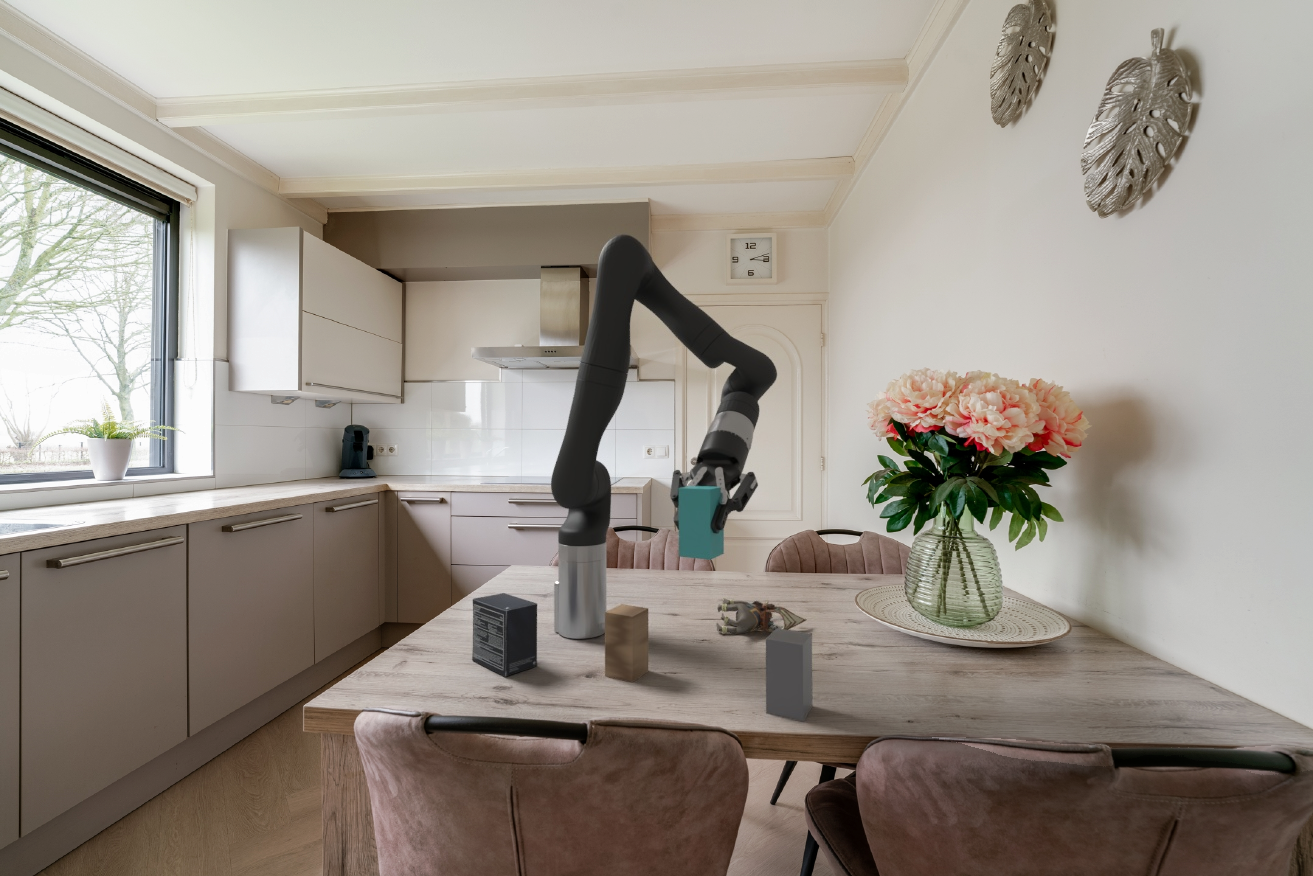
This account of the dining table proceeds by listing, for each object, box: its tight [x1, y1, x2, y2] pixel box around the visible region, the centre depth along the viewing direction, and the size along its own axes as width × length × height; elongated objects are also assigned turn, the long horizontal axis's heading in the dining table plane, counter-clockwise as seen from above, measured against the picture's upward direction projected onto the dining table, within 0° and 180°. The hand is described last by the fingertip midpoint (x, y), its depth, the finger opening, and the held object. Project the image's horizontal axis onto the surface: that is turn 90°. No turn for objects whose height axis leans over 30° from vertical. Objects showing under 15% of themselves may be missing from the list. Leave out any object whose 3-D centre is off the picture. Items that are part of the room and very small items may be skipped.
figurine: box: [716, 597, 807, 635], centre depth 111 cm, size 20×6×17 cm
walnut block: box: [604, 603, 649, 683], centre depth 90 cm, size 5×5×10 cm
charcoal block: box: [765, 627, 813, 722], centre depth 78 cm, size 5×5×10 cm
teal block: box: [678, 485, 725, 561], centre depth 84 cm, size 5×5×10 cm
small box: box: [471, 592, 538, 678], centre depth 95 cm, size 11×6×10 cm, turn 47°
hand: (696, 528), depth 83 cm, fingers closed on teal block, 5 cm apart
